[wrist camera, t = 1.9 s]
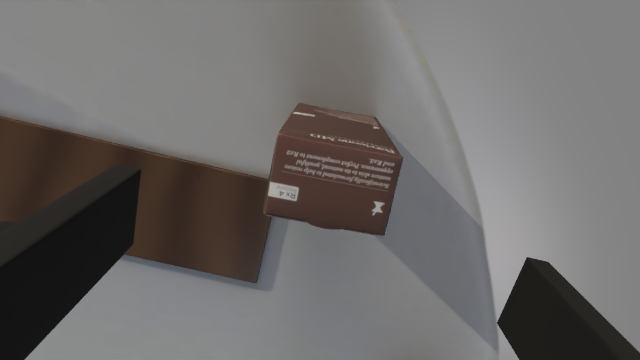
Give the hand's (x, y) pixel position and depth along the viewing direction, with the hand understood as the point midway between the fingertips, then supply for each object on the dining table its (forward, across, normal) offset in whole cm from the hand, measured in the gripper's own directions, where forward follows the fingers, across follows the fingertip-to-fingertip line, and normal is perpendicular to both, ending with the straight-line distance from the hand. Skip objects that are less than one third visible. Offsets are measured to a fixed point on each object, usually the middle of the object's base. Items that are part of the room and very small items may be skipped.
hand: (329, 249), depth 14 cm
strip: (+18, -15, -9) cm, 25 cm away
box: (+18, 0, 0) cm, 18 cm away
